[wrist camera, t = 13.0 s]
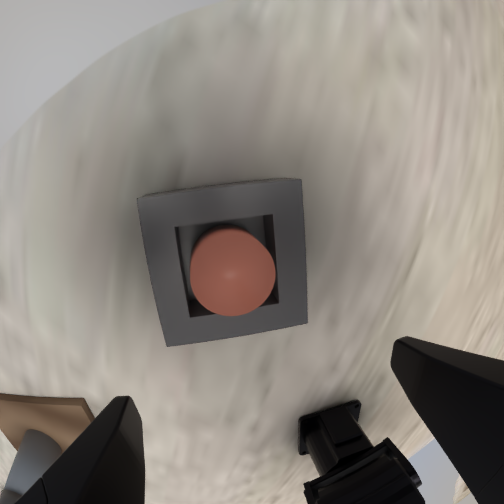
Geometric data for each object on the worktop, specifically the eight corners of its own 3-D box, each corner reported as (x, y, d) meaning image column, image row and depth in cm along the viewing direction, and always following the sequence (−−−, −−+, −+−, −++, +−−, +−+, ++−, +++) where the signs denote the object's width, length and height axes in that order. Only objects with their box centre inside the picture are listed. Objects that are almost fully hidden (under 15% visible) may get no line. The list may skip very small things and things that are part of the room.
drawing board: (141, 488, 25) (141, 494, 24) (48, 479, 23) (47, 484, 22) (83, 398, 20) (81, 405, 19) (-18, 391, 18) (-21, 396, 17)
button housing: (293, 304, 22) (307, 323, 19) (169, 324, 20) (166, 346, 17) (285, 177, 19) (301, 179, 16) (145, 194, 18) (136, 198, 15)
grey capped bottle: (70, 453, 21) (53, 537, 10) (46, 458, 20) (27, 533, 10) (39, 425, 19) (10, 510, 9) (17, 432, 19) (-12, 507, 8)
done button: (265, 288, 19) (277, 308, 16) (196, 299, 18) (197, 321, 16) (259, 220, 18) (272, 229, 15) (185, 230, 17) (183, 241, 14)
